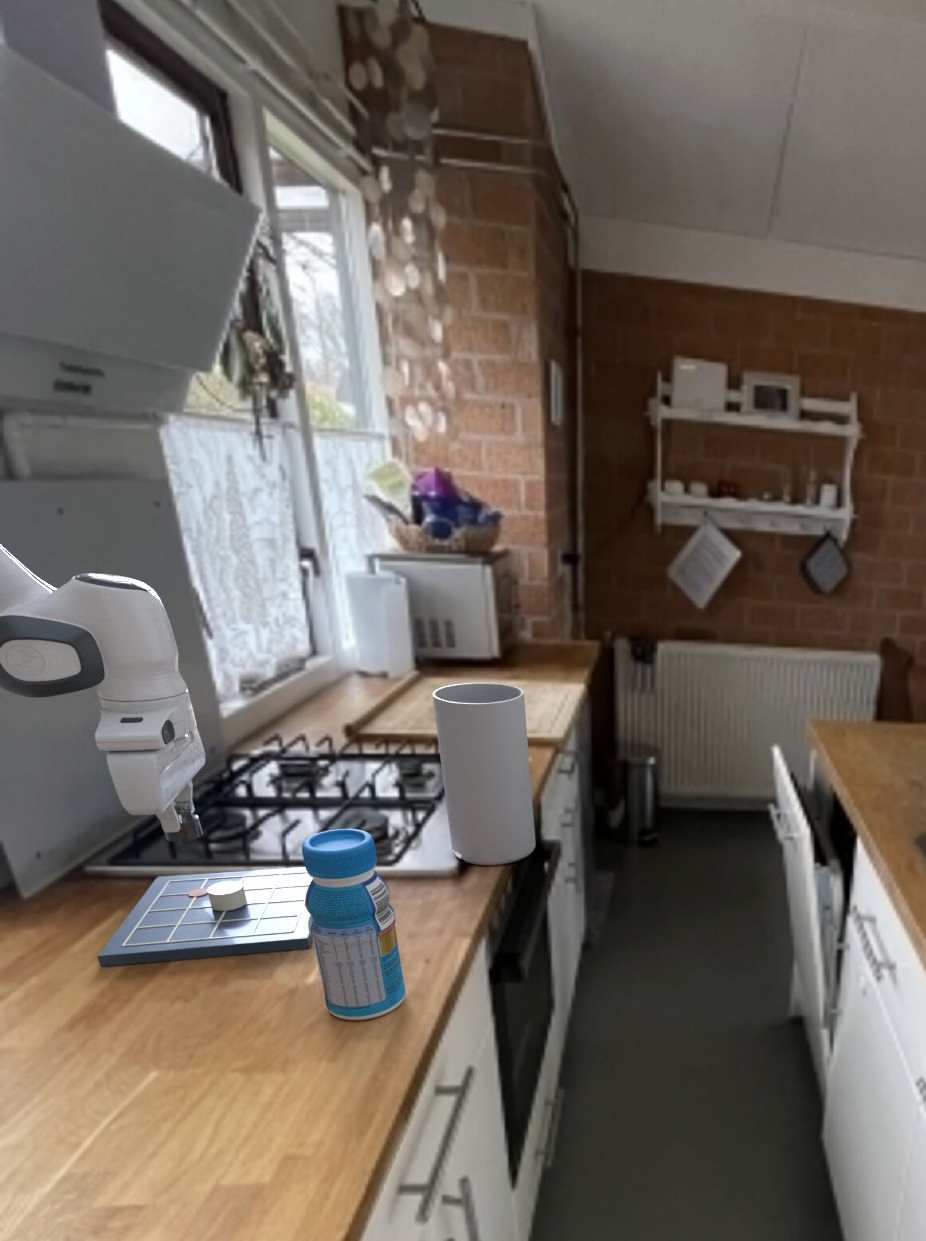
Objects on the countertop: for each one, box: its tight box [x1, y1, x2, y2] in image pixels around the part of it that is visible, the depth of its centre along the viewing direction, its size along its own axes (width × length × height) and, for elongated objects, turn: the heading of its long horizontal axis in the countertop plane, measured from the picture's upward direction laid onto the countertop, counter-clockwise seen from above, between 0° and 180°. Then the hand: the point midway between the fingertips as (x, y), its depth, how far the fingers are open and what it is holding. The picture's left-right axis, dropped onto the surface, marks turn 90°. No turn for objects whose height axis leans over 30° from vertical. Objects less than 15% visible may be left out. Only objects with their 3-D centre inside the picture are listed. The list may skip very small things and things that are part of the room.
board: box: [97, 866, 313, 968], centre depth 115 cm, size 22×22×2 cm
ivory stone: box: [207, 881, 247, 911], centre depth 114 cm, size 4×4×2 cm
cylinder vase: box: [432, 682, 537, 866], centre depth 133 cm, size 12×12×25 cm
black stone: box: [163, 813, 204, 843], centre depth 113 cm, size 4×4×2 cm
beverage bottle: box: [301, 828, 407, 1021], centre depth 95 cm, size 8×8×20 cm
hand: (180, 822), depth 112 cm, fingers closed on black stone, 4 cm apart
